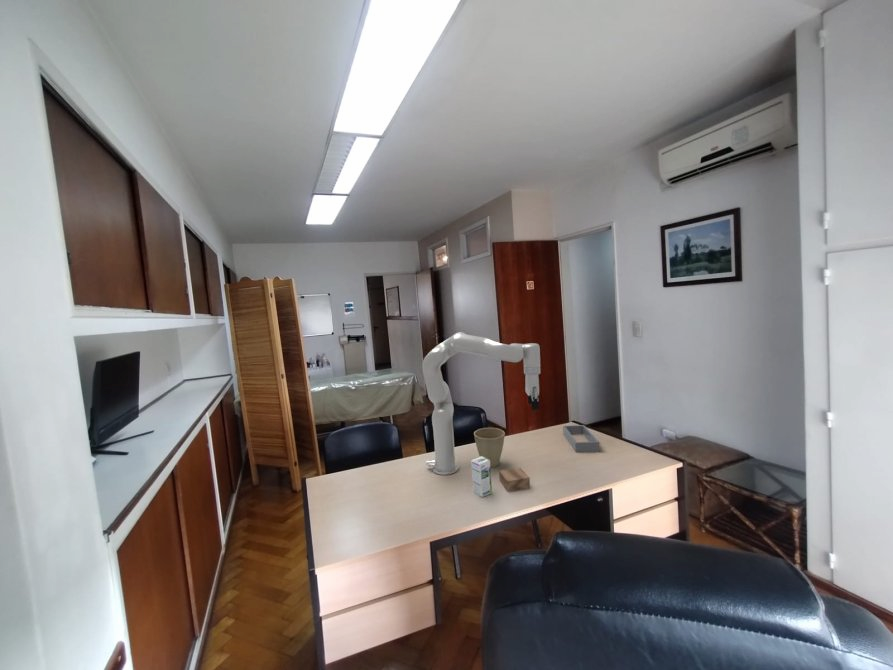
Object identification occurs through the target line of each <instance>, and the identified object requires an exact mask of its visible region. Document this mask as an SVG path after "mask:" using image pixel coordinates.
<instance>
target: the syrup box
mask: <svg viewBox="0 0 893 670" xmlns="http://www.w3.org/2000/svg"><path fill="white" fill-rule="evenodd" d="M470 462H471V464H470V465H471V476H472V491H473V493H474V494H476V495H477V496H479V497H481V498H483V497H485V496H488V495H489V494H490V495H491V494H492V493H493V487H492V485H493V484H492V474H491V473H492V472H491V467H490V460H489V459H487V458H485V457H482V456H481V457H480V456H479V457H476V458H474V459H471V461H470Z"/></svg>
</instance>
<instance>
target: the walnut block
mask: <svg viewBox="0 0 893 670" xmlns="http://www.w3.org/2000/svg"><path fill="white" fill-rule="evenodd" d="M530 479H531V478H530V477H529V475H528V474H527V473H526V472H525V471H524V469H522V468H521V467H514V468H511V469H510V468H509V469H504V470H499V483H501V485H502V486H503V488H504V489H505V491H506V492H507V493H511V492H515V491H521V490H522V491H523V490H527V489H528V490H529V489H531V483H530Z"/></svg>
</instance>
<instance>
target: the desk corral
mask: <svg viewBox="0 0 893 670" xmlns="http://www.w3.org/2000/svg"><path fill="white" fill-rule="evenodd" d="M562 435H563V436H564V438H565V439H566V441H567V442H568V444H569V445H570V446H571V448H572V449H573V451H574V452H575V453H595V452H596V453H597V452H601V451H600V449H601V448H600V441H599V440H598V439H597V438H596V437H595V435H593V433H592V432H591V431H590V430H589V429H588V428H587V426H585V424H582V425H580V424H578V425H577V424H575V425H562ZM573 435H583V437H584V438H585V439H586V440H587V441H576V439H575V438H574V437H573Z"/></svg>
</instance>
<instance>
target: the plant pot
mask: <svg viewBox="0 0 893 670" xmlns="http://www.w3.org/2000/svg"><path fill="white" fill-rule="evenodd" d="M473 435H474V441H475V445H476V449H477V453H478V456H479V457H481V456H482V457H485V458H487V459H489V460H490V468H495V467H497V466H498V465H499V463H500V460H501V456H502V453H503V449H504V444H505V443H504V442H505V435H506V434H505V431H504V430H502V429H501V428H497V427H496V428H495V427H483V428H478V429H477V430H475V431H474V432H473Z"/></svg>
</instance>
